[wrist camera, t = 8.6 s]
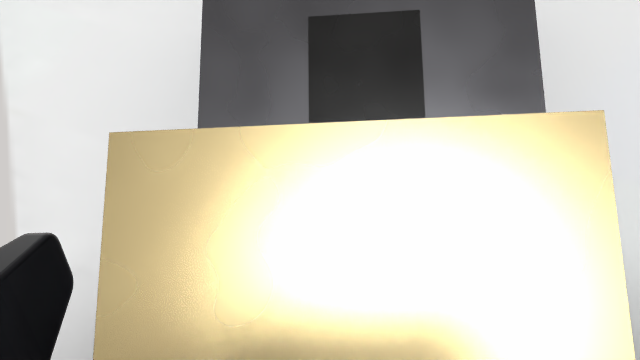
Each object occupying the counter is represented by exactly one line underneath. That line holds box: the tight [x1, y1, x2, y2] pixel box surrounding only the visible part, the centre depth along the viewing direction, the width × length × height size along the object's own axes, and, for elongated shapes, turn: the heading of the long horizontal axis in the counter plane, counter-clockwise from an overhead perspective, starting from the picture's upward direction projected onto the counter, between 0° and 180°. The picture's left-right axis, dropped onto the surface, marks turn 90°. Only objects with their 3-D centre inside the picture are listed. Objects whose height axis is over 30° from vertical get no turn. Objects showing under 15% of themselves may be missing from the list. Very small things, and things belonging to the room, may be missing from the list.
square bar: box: [93, 110, 635, 360], centre depth 11 cm, size 4×4×13 cm
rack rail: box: [198, 0, 546, 129], centre depth 16 cm, size 20×9×3 cm, turn 1°
